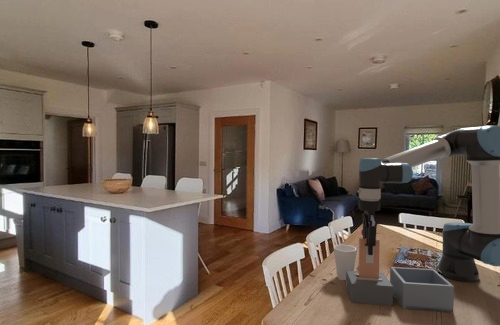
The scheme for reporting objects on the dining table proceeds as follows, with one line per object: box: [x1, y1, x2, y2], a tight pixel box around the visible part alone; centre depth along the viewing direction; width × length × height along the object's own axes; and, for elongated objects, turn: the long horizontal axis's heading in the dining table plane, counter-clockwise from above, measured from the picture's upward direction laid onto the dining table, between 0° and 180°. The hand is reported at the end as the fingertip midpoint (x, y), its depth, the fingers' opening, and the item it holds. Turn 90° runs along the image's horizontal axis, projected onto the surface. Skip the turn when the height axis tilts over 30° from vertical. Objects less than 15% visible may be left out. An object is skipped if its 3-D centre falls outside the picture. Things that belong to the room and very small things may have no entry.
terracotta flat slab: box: [358, 237, 380, 279], centre depth 113 cm, size 7×2×15 cm, turn 81°
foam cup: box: [333, 244, 358, 282], centre depth 130 cm, size 10×9×13 cm
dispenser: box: [345, 270, 394, 306], centre depth 113 cm, size 14×12×8 cm
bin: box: [389, 266, 455, 313], centre depth 110 cm, size 16×15×9 cm
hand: (368, 261), depth 113 cm, fingers closed on terracotta flat slab, 2 cm apart
